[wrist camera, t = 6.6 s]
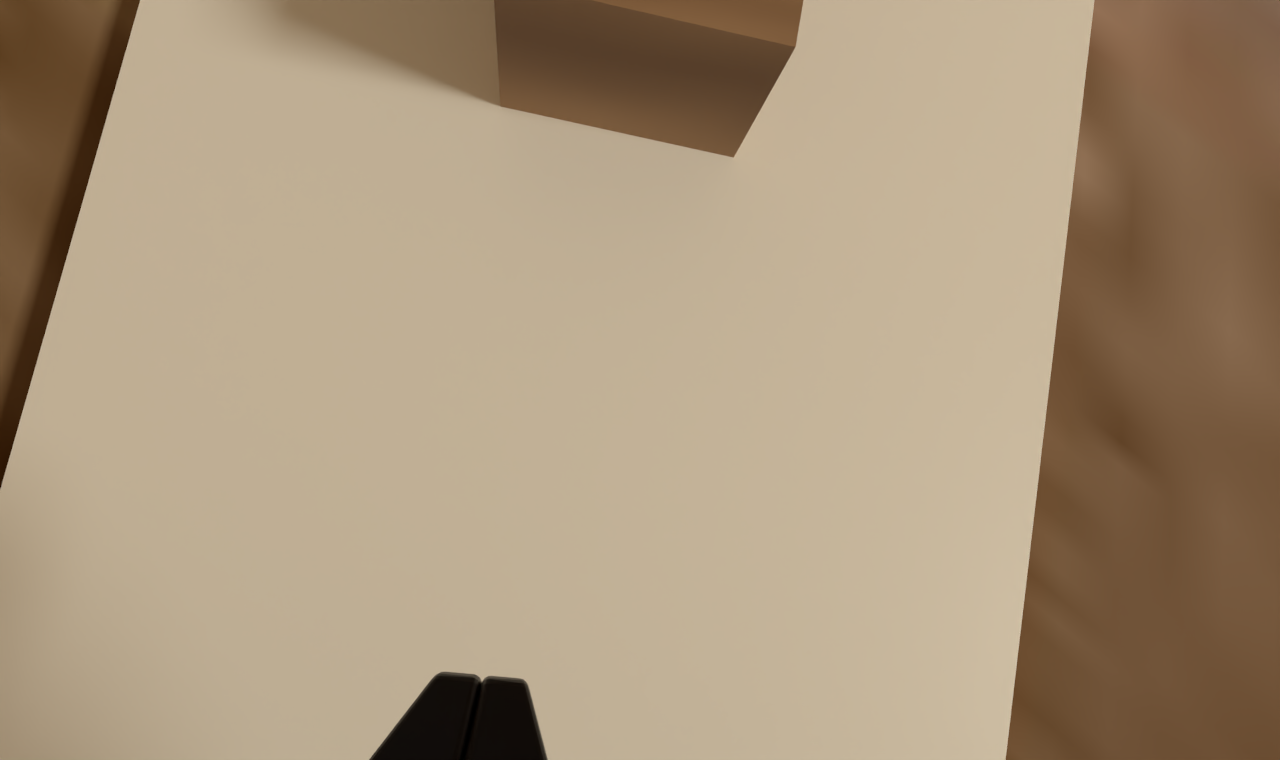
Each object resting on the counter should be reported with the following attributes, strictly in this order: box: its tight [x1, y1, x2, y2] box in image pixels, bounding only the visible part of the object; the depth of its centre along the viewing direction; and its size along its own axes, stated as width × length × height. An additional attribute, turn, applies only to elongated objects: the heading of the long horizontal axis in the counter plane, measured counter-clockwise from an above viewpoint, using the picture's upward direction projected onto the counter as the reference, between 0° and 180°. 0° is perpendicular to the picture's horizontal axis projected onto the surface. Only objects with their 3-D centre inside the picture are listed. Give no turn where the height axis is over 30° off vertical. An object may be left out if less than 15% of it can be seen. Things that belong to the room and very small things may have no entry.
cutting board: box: [0, 0, 1094, 760], centre depth 19 cm, size 22×18×1 cm
